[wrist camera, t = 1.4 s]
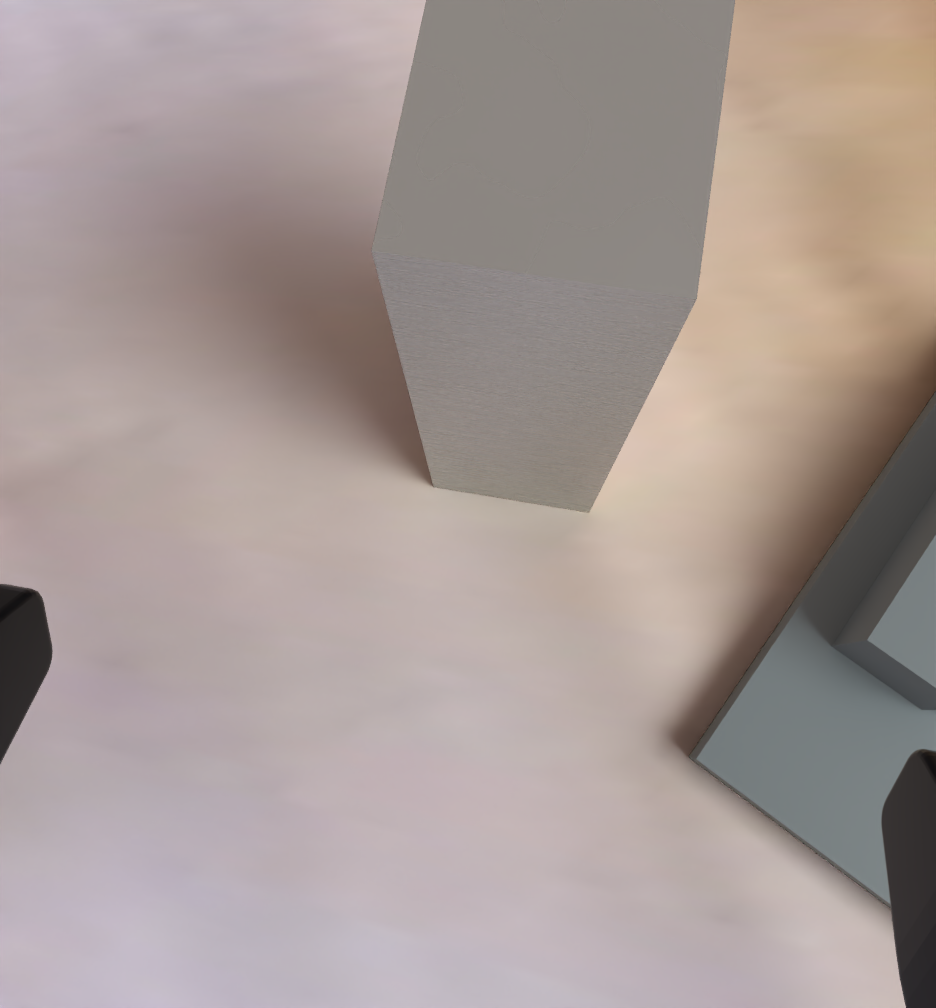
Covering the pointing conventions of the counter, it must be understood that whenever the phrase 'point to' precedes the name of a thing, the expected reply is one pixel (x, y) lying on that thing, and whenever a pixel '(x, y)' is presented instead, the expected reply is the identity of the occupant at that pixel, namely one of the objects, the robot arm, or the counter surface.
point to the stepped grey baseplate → (845, 677)
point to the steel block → (547, 229)
